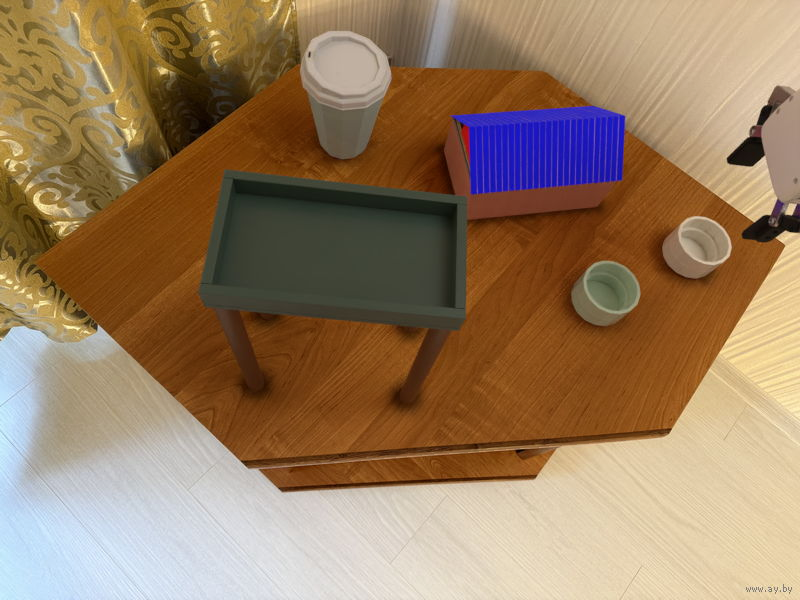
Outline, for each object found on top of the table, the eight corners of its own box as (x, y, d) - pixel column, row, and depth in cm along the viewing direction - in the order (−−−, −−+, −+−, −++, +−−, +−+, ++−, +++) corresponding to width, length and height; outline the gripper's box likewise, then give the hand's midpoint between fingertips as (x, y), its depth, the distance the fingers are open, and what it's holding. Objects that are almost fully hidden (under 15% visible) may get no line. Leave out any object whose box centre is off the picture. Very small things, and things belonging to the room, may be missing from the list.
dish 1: (625, 329, 74) (643, 316, 70) (571, 324, 74) (585, 310, 70) (620, 279, 77) (637, 263, 73) (568, 274, 76) (581, 257, 72)
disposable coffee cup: (384, 116, 83) (395, 29, 70) (380, 179, 79) (391, 100, 65) (308, 107, 82) (304, 18, 69) (299, 171, 78) (294, 89, 64)
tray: (415, 405, 67) (465, 319, 43) (245, 391, 66) (197, 293, 42) (419, 319, 72) (467, 196, 47) (259, 303, 70) (224, 168, 46)
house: (441, 148, 82) (458, 87, 72) (574, 137, 86) (610, 78, 75) (459, 222, 78) (480, 169, 67) (600, 208, 81) (641, 155, 71)
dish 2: (714, 282, 78) (735, 267, 74) (663, 277, 78) (682, 261, 74) (706, 236, 81) (726, 219, 77) (657, 231, 81) (675, 213, 77)
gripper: (948, 180, 47) (794, 272, 63) (889, 20, 54) (763, 140, 70) (860, 169, 47) (726, 265, 62) (812, 9, 53) (702, 132, 69)
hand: (746, 199), depth 66 cm, fingers open, 9 cm apart
